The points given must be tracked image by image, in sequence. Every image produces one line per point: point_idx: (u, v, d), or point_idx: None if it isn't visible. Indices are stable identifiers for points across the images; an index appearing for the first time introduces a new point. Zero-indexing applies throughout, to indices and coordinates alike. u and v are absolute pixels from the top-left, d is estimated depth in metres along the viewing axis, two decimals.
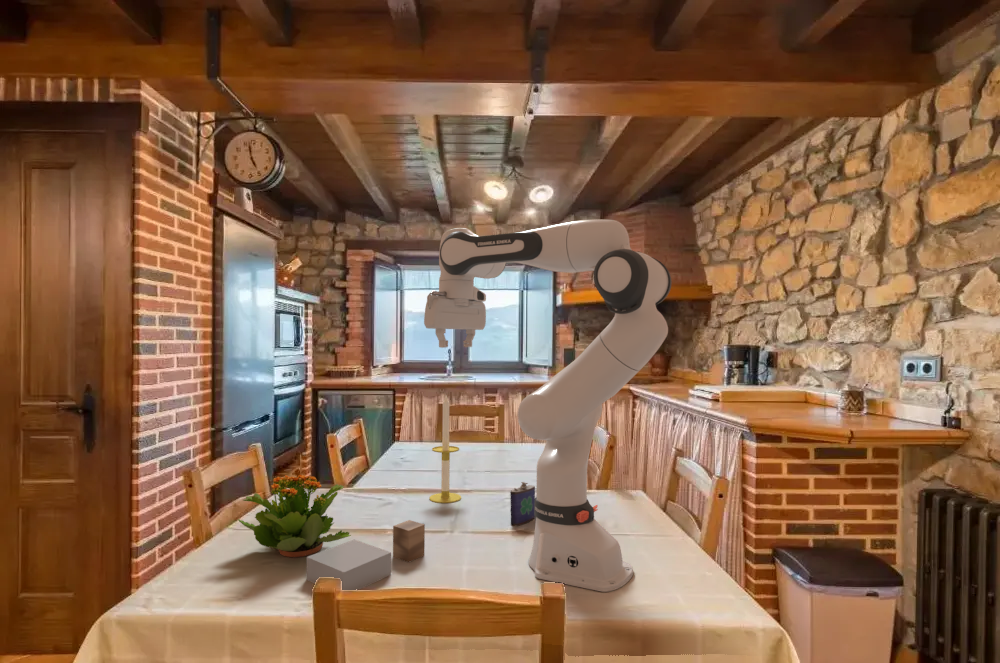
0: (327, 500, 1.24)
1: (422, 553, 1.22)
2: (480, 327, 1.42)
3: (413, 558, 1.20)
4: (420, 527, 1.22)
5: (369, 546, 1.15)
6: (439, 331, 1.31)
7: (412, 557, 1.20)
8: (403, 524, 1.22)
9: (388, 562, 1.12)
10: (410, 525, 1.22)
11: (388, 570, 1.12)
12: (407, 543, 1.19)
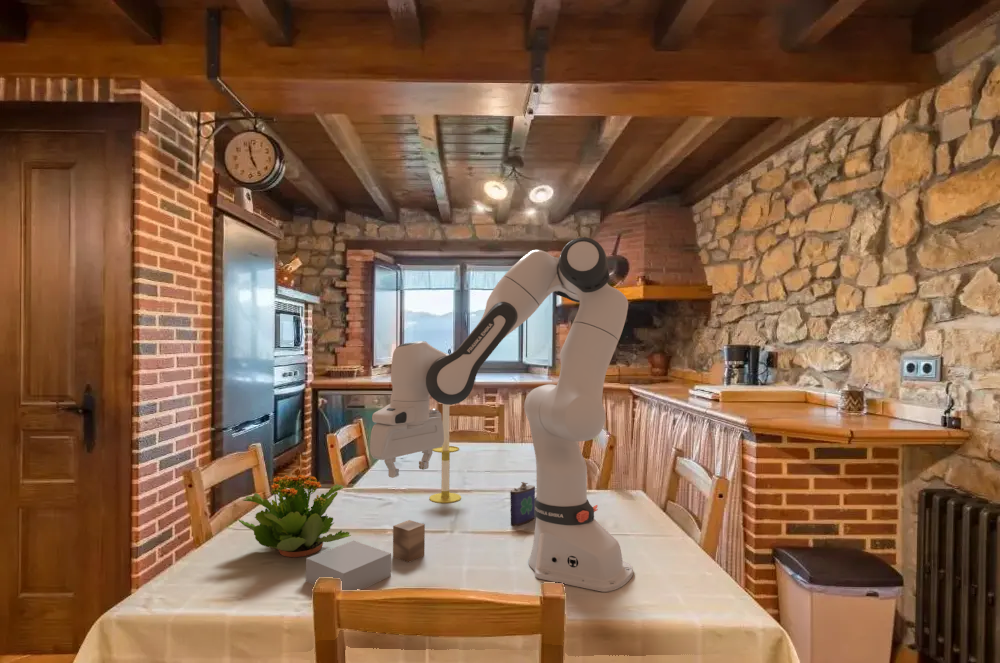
0: (327, 500, 1.24)
1: (422, 553, 1.22)
2: None
3: (413, 558, 1.20)
4: (420, 527, 1.22)
5: (369, 547, 1.15)
6: None
7: (412, 557, 1.20)
8: (403, 524, 1.22)
9: (387, 563, 1.11)
10: (410, 525, 1.22)
11: (388, 571, 1.11)
12: (407, 543, 1.19)
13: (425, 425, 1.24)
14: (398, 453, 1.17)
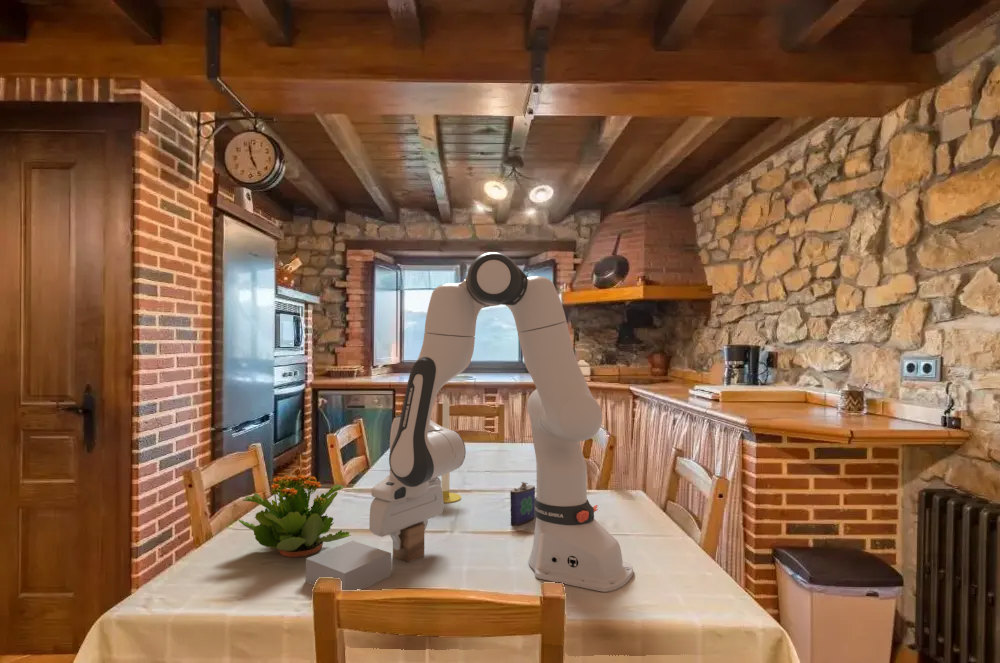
0: (327, 500, 1.24)
1: (422, 553, 1.22)
2: None
3: (413, 558, 1.20)
4: (420, 527, 1.22)
5: (368, 547, 1.15)
6: None
7: (412, 557, 1.20)
8: None
9: (387, 562, 1.11)
10: None
11: (388, 570, 1.11)
12: (407, 543, 1.19)
13: (424, 495, 1.24)
14: (397, 528, 1.17)
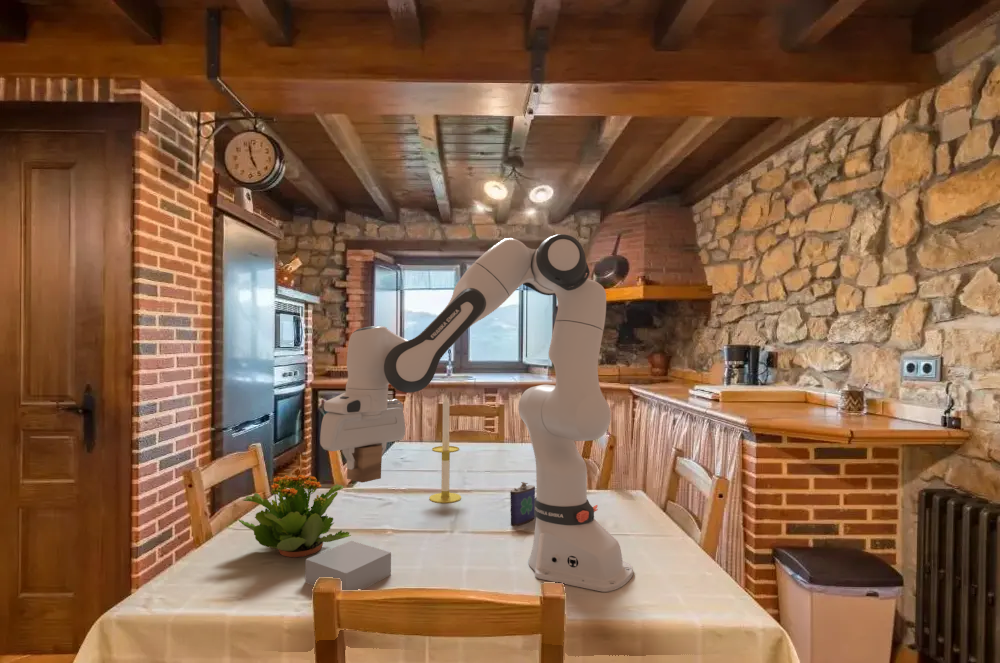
0: (327, 500, 1.24)
1: (378, 476, 1.15)
2: None
3: (368, 479, 1.12)
4: (377, 447, 1.14)
5: (368, 547, 1.15)
6: None
7: (366, 478, 1.12)
8: None
9: (388, 562, 1.11)
10: None
11: (388, 570, 1.12)
12: (361, 462, 1.11)
13: (383, 416, 1.16)
14: (351, 444, 1.10)
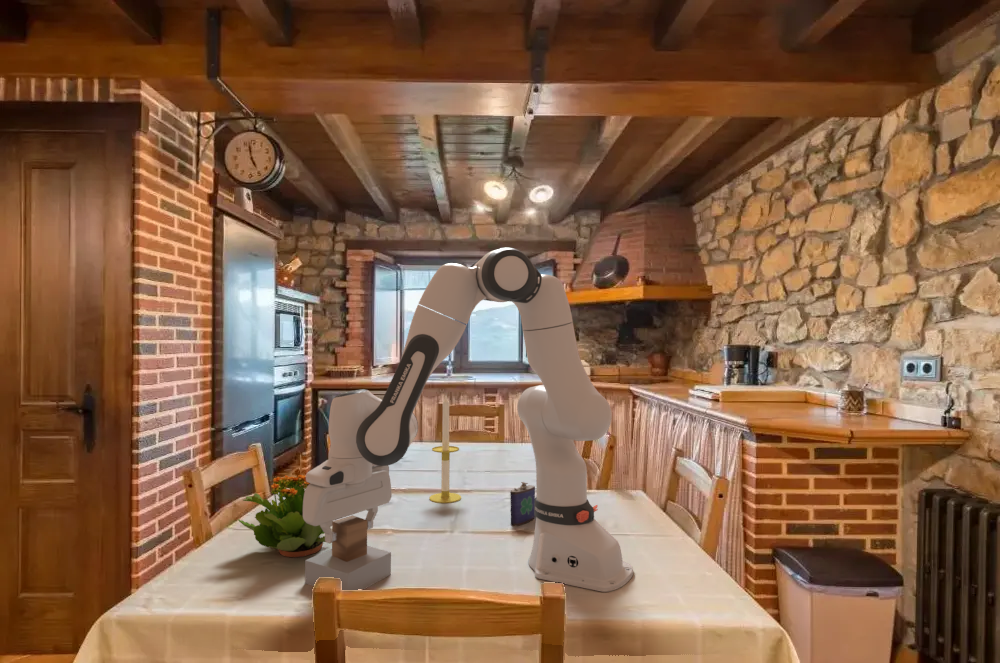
0: None
1: (364, 552, 1.11)
2: None
3: (352, 557, 1.09)
4: (361, 523, 1.10)
5: (367, 547, 1.15)
6: None
7: (351, 556, 1.08)
8: (344, 520, 1.11)
9: (388, 562, 1.12)
10: (350, 521, 1.11)
11: (388, 570, 1.12)
12: (345, 540, 1.08)
13: (368, 482, 1.13)
14: (335, 516, 1.06)
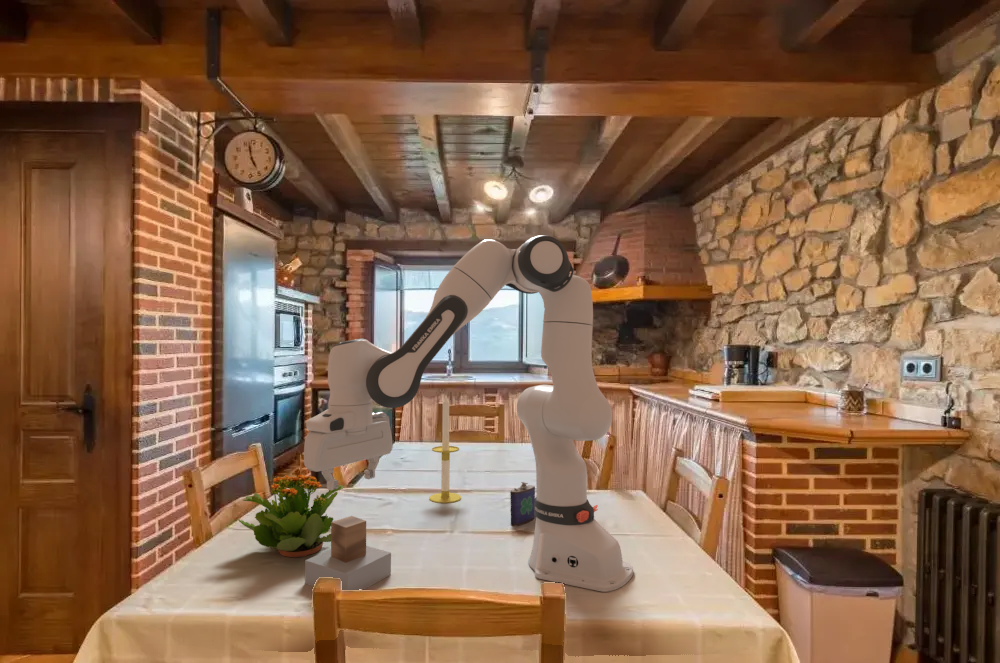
0: (327, 500, 1.24)
1: (363, 552, 1.10)
2: None
3: (352, 558, 1.08)
4: (360, 524, 1.10)
5: (367, 547, 1.15)
6: None
7: (350, 557, 1.08)
8: (343, 521, 1.11)
9: (388, 562, 1.12)
10: (349, 522, 1.10)
11: (388, 570, 1.12)
12: (344, 541, 1.07)
13: (369, 431, 1.13)
14: (336, 463, 1.06)
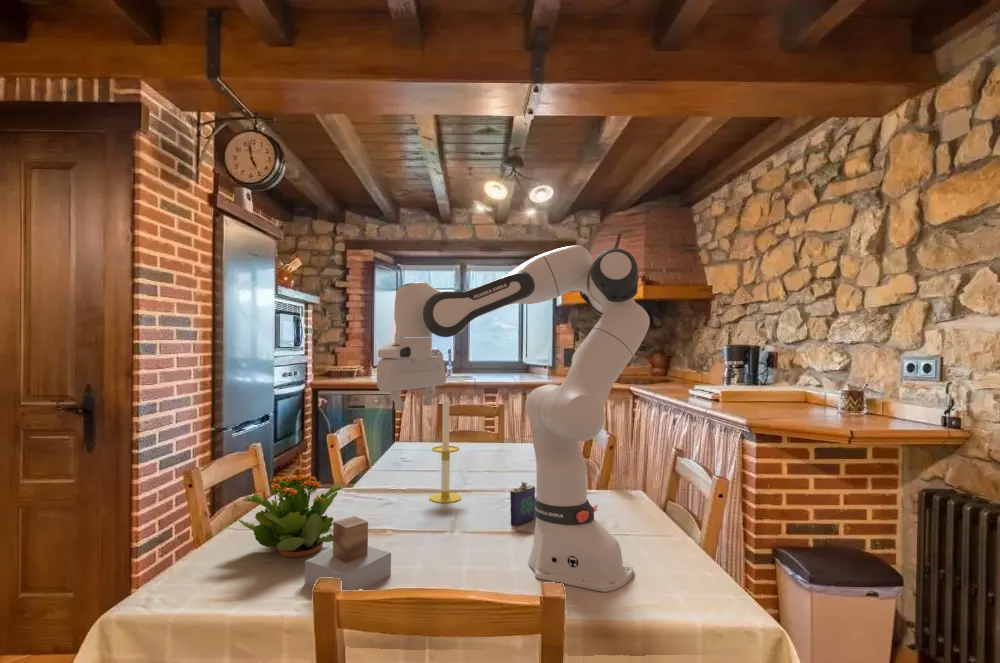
0: (327, 500, 1.24)
1: (364, 553, 1.10)
2: None
3: (352, 558, 1.08)
4: (362, 524, 1.10)
5: None
6: None
7: (351, 557, 1.08)
8: (345, 521, 1.11)
9: (388, 562, 1.12)
10: (351, 522, 1.10)
11: (388, 570, 1.12)
12: (345, 541, 1.07)
13: (428, 362, 1.30)
14: (403, 386, 1.24)
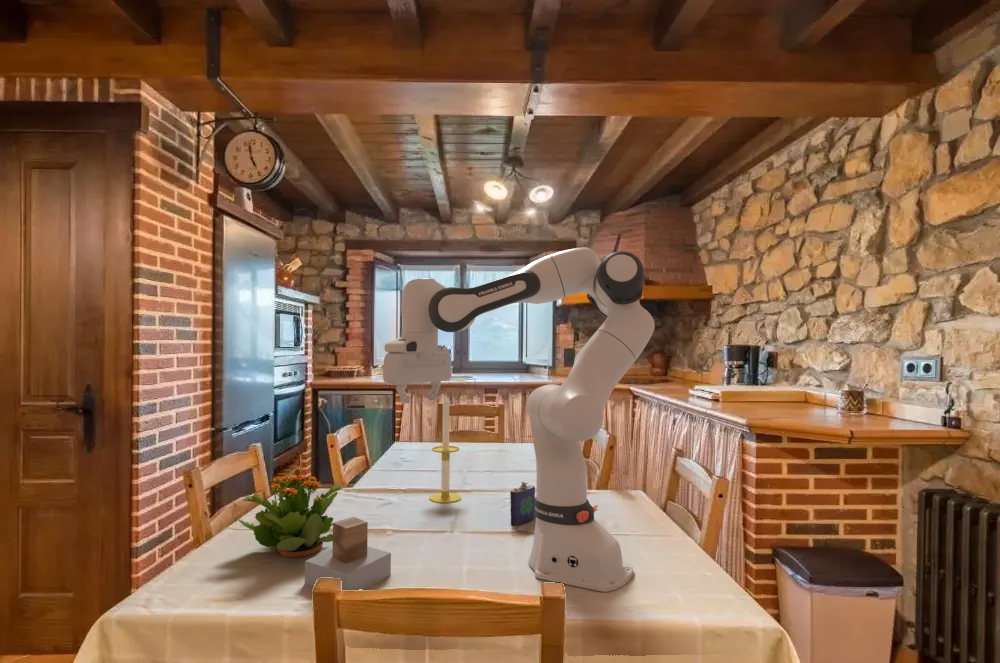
0: (327, 500, 1.24)
1: (364, 554, 1.10)
2: None
3: (352, 559, 1.08)
4: (361, 525, 1.09)
5: (367, 547, 1.15)
6: None
7: (351, 558, 1.07)
8: (344, 521, 1.11)
9: (388, 562, 1.11)
10: (350, 522, 1.10)
11: (388, 570, 1.12)
12: (344, 542, 1.07)
13: (434, 358, 1.32)
14: (409, 380, 1.25)
